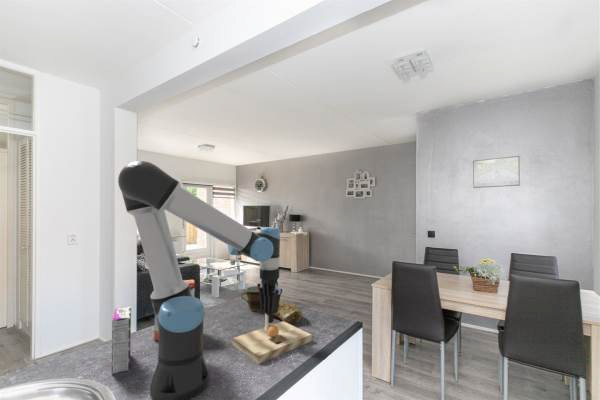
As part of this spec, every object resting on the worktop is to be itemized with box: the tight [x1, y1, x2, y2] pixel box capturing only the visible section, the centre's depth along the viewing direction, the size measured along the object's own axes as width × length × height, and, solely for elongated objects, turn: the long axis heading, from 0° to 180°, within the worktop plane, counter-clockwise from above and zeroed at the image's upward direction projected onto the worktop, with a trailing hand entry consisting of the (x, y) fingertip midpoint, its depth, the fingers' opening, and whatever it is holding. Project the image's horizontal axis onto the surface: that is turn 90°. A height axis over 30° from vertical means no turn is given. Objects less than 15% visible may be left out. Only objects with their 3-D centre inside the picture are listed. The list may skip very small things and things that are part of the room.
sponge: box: [274, 300, 303, 324], centre depth 132 cm, size 13×8×20 cm
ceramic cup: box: [240, 285, 262, 312], centre depth 142 cm, size 13×10×10 cm
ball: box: [268, 325, 279, 337], centre depth 107 cm, size 4×4×4 cm
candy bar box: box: [111, 306, 132, 375], centre depth 92 cm, size 11×5×16 cm, turn 30°
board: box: [231, 321, 313, 365], centre depth 107 cm, size 24×17×2 cm
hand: (268, 330), depth 109 cm, fingers closed
